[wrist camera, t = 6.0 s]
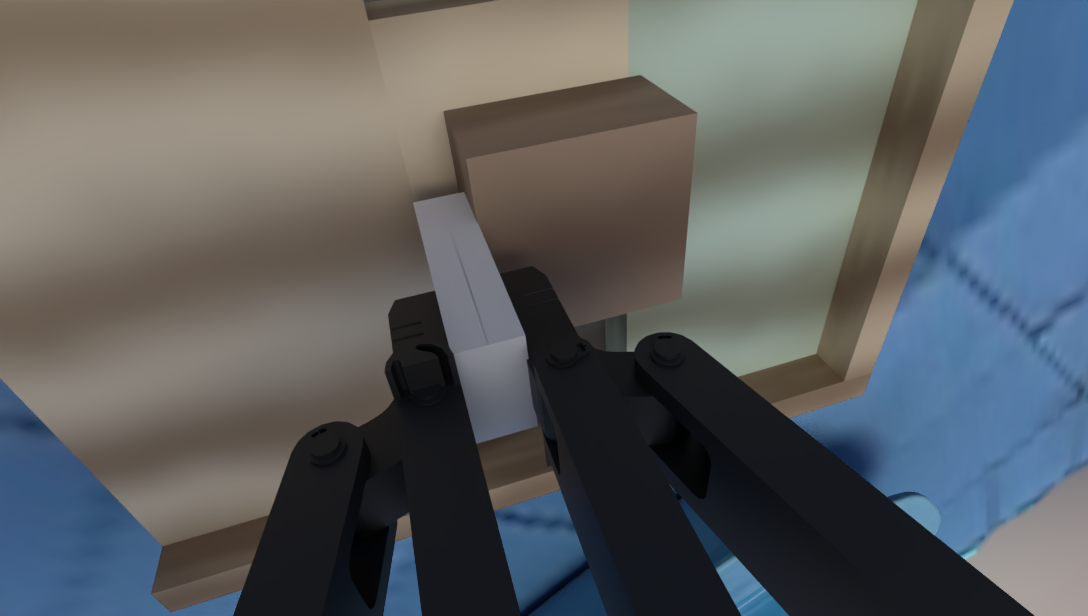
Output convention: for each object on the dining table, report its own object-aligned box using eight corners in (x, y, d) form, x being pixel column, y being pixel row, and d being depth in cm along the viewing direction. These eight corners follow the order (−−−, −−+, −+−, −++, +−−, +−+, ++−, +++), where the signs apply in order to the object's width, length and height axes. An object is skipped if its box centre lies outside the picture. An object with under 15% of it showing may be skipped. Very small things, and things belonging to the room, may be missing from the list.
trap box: (-572, -419, 9) (-1176, -611, 6) (998, -454, 15) (1229, -565, 11) (193, 504, 26) (170, 612, 23) (799, 331, 32) (863, 394, 28)
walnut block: (443, 111, 16) (465, 159, 14) (640, 75, 17) (697, 113, 15) (476, 282, 20) (499, 346, 17) (636, 244, 21) (681, 299, 18)
